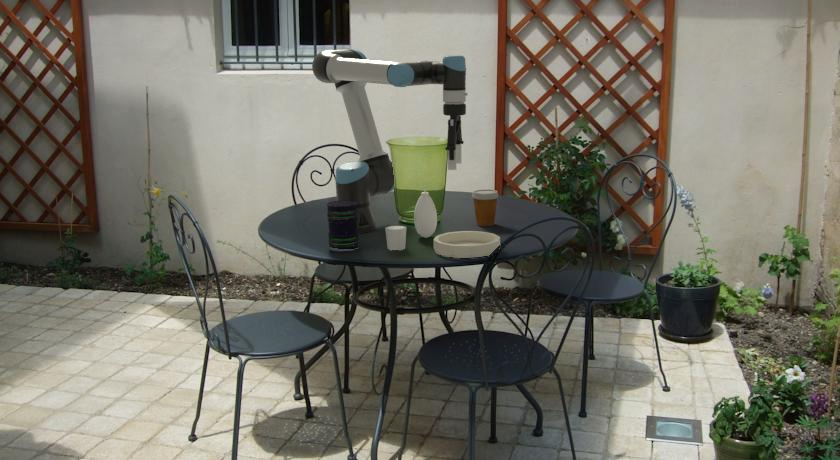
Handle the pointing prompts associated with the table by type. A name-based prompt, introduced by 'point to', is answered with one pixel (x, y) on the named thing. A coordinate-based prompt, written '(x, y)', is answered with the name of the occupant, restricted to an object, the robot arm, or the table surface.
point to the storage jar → (343, 224)
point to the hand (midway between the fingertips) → (454, 166)
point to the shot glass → (396, 237)
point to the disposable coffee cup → (485, 206)
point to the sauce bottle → (425, 215)
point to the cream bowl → (466, 244)
